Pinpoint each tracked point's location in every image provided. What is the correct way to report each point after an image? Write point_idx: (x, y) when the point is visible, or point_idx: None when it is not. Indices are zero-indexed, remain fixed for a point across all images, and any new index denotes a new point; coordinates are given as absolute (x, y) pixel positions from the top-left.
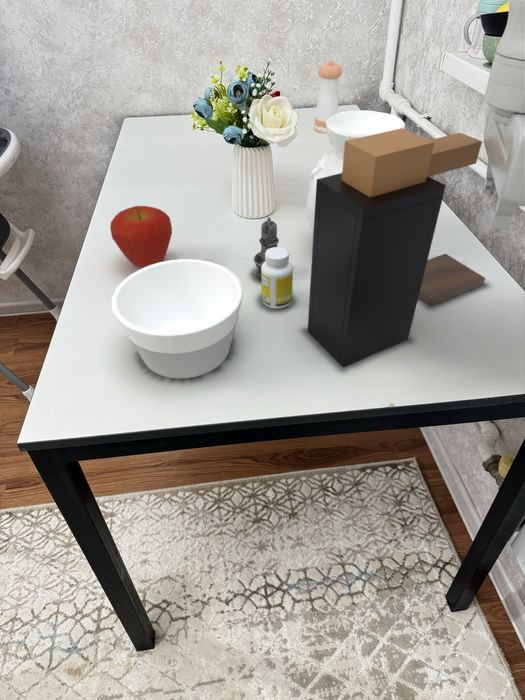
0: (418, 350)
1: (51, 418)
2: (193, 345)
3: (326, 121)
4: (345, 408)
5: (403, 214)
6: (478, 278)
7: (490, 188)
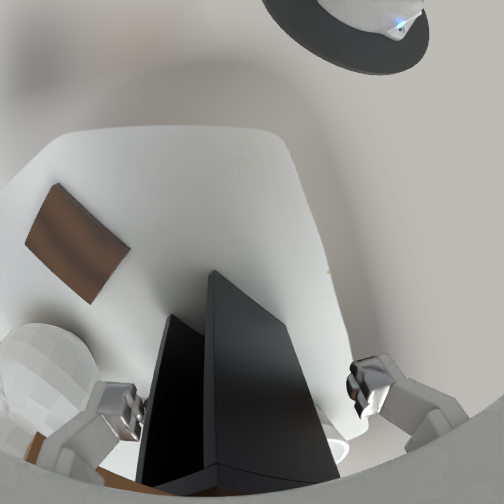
0: (231, 255)
1: (355, 432)
2: (338, 432)
3: None
4: (339, 309)
5: (293, 470)
6: (56, 194)
7: (135, 412)
